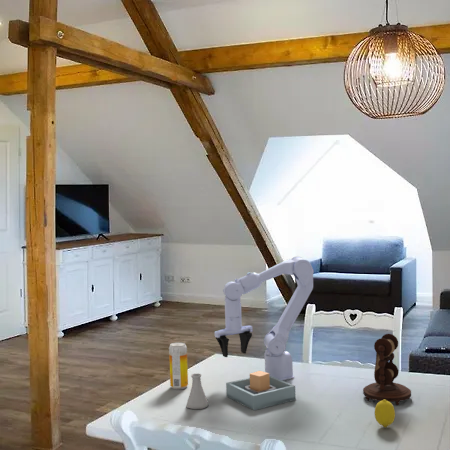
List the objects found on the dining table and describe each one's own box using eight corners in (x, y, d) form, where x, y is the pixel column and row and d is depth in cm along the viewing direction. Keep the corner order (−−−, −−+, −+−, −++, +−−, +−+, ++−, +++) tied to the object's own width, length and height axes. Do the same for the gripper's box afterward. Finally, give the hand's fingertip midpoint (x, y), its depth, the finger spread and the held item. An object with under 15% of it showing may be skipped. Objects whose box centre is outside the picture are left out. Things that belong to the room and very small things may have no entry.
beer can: (189, 384, 227) (187, 341, 226) (186, 390, 221) (185, 346, 220) (172, 384, 227) (170, 342, 226) (169, 389, 221) (167, 346, 220)
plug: (260, 391, 213) (259, 370, 213) (269, 394, 210) (269, 373, 210) (250, 395, 210) (249, 373, 210) (260, 398, 207) (259, 376, 207)
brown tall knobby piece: (371, 388, 216) (370, 329, 215) (416, 394, 209) (415, 333, 207) (356, 402, 204) (355, 339, 202) (403, 409, 196) (402, 343, 195)
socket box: (266, 387, 221) (266, 374, 221) (295, 399, 208) (295, 385, 207) (226, 396, 213) (226, 382, 213) (253, 410, 199) (253, 395, 199)
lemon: (372, 424, 185) (371, 396, 184) (391, 423, 185) (390, 395, 185) (378, 431, 180) (378, 403, 179) (398, 430, 180) (397, 402, 179)
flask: (212, 403, 207) (211, 372, 206) (204, 410, 200) (202, 379, 200) (191, 401, 210) (189, 370, 209) (182, 408, 203) (181, 377, 202)
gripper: (244, 311, 234) (245, 349, 235) (209, 317, 227) (210, 355, 228) (255, 314, 228) (256, 353, 229) (220, 320, 221) (221, 360, 222)
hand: (234, 354), depth 228 cm, fingers open, 7 cm apart
